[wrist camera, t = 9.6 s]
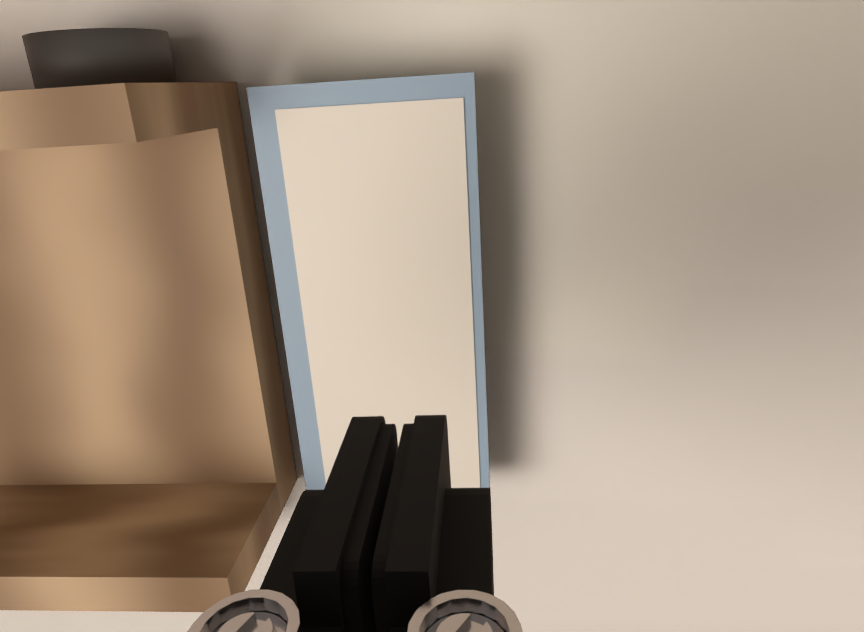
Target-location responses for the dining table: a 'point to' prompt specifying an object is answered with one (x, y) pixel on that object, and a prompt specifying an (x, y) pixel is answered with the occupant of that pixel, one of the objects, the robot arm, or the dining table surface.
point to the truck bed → (132, 336)
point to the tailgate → (377, 258)
